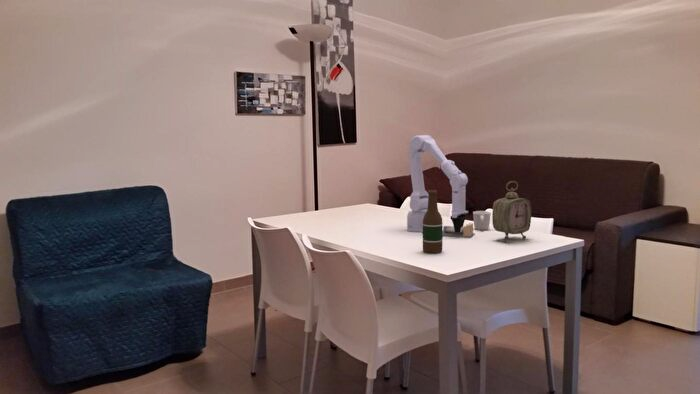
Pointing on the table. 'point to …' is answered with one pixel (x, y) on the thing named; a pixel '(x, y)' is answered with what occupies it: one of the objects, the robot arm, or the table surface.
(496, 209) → the tabletop clock
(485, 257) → the table surface
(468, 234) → the board
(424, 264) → the table surface
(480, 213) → the cup
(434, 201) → the beer bottle
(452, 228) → the tube
